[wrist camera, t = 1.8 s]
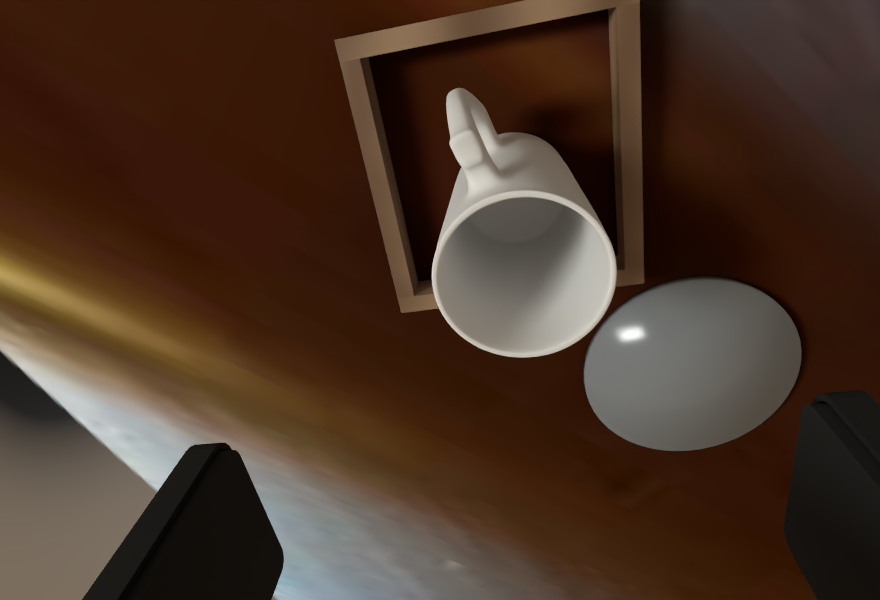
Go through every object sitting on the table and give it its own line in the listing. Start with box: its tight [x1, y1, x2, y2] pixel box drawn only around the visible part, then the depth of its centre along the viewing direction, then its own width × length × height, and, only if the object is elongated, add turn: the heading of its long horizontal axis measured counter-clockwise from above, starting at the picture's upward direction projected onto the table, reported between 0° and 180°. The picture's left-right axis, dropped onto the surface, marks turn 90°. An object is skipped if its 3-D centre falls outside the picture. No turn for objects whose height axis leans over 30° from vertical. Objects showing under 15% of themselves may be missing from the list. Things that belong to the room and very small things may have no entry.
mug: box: [432, 88, 617, 357], centre depth 25 cm, size 10×7×12 cm, turn 26°
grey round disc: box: [583, 276, 802, 451], centre depth 35 cm, size 13×13×1 cm
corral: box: [334, 0, 644, 313], centre depth 29 cm, size 14×15×2 cm
